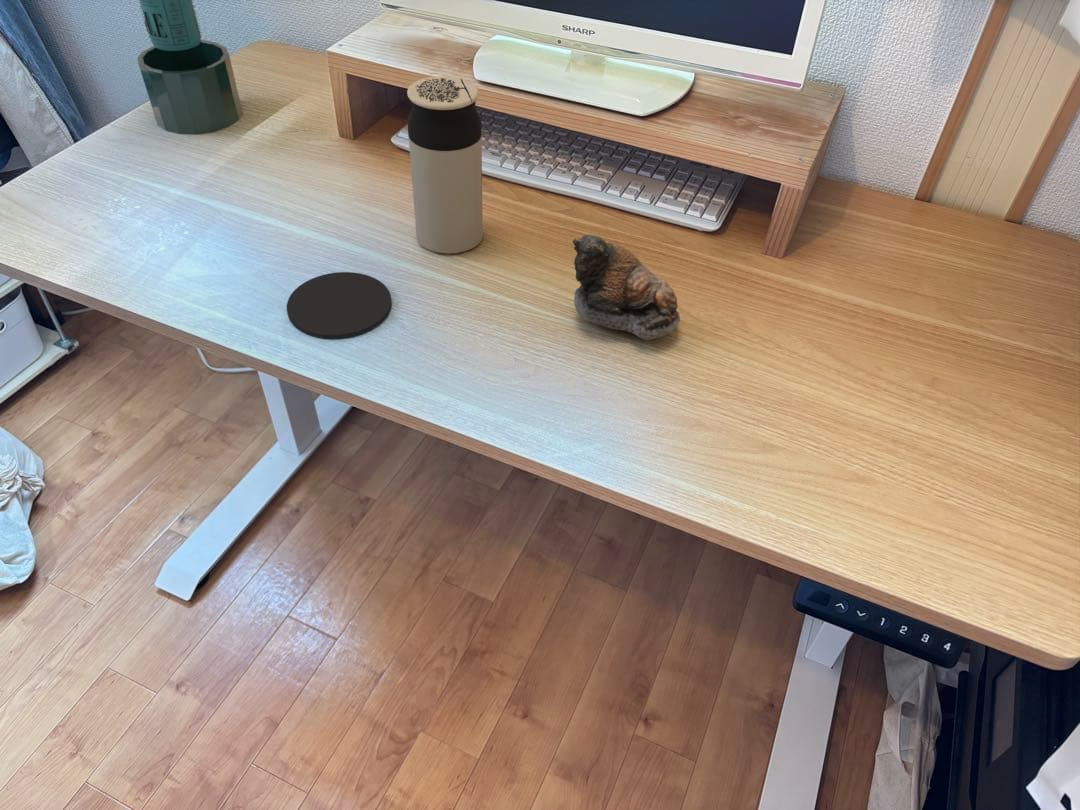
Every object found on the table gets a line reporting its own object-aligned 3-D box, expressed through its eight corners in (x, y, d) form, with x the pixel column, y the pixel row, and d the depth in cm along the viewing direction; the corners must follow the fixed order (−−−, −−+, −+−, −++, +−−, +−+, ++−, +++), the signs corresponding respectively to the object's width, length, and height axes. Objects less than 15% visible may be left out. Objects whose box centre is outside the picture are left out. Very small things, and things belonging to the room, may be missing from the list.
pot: (211, 152, 108) (191, 79, 101) (142, 135, 110) (118, 63, 103) (260, 118, 116) (245, 48, 108) (195, 103, 118) (176, 34, 111)
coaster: (359, 350, 81) (358, 346, 80) (266, 322, 83) (265, 318, 83) (409, 290, 88) (409, 286, 87) (323, 267, 90) (322, 262, 90)
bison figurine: (680, 317, 87) (697, 238, 79) (671, 358, 82) (688, 278, 75) (573, 296, 88) (581, 218, 81) (558, 335, 84) (565, 255, 76)
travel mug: (417, 257, 92) (405, 107, 80) (416, 220, 98) (404, 74, 85) (485, 254, 93) (483, 106, 81) (480, 218, 99) (478, 74, 86)
